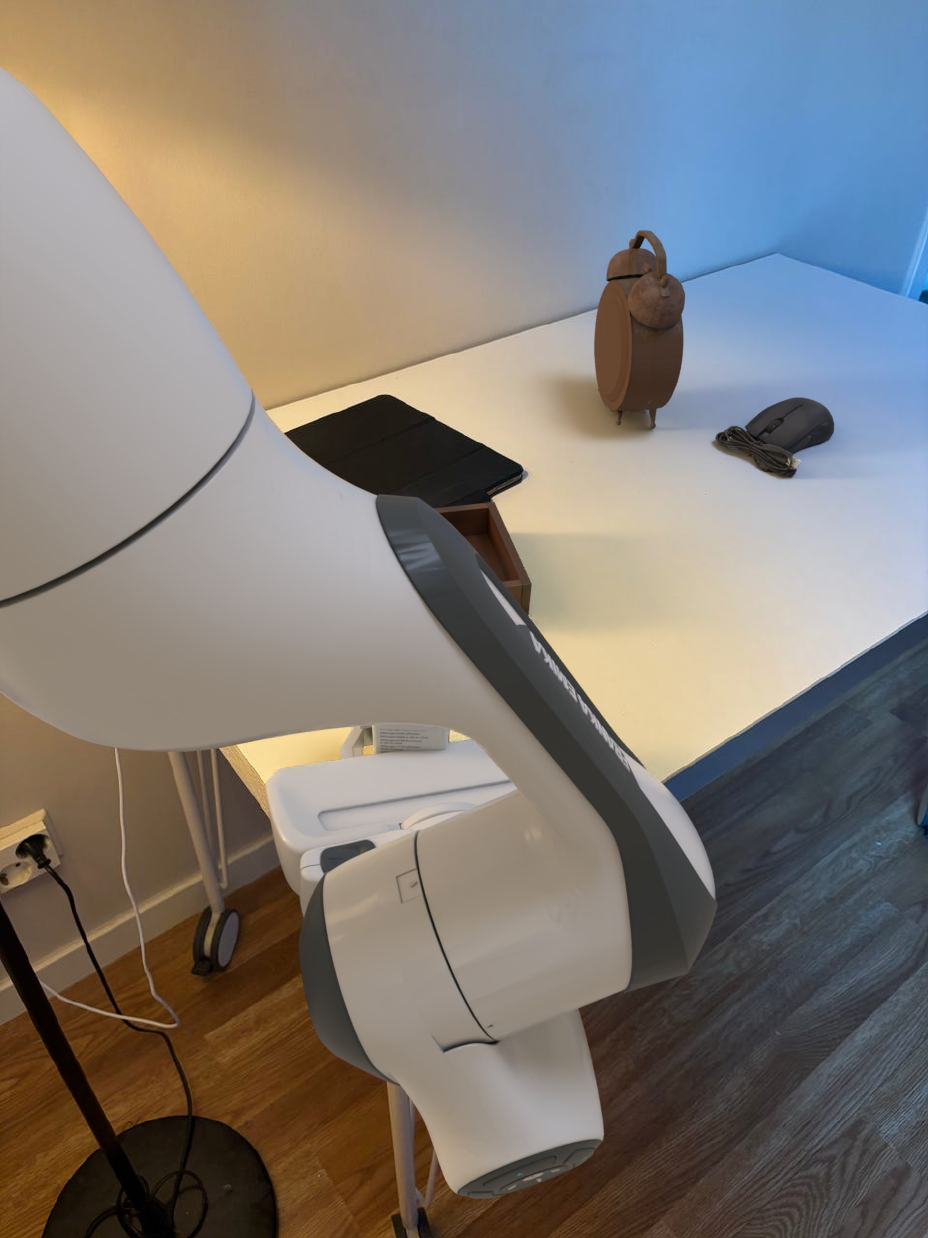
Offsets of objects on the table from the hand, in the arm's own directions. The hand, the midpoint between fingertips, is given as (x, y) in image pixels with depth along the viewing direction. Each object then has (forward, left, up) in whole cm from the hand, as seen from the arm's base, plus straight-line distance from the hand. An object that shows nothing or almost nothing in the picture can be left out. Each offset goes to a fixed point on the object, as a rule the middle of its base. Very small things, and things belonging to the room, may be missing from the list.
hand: (410, 710), depth 65 cm
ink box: (0, -1, -7) cm, 7 cm away
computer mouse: (+50, +39, -7) cm, 64 cm away
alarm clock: (+35, +49, -7) cm, 60 cm away
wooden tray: (+9, +22, -7) cm, 24 cm away
